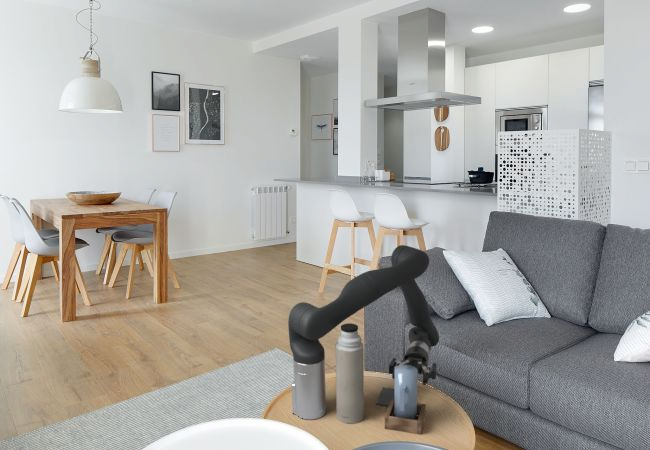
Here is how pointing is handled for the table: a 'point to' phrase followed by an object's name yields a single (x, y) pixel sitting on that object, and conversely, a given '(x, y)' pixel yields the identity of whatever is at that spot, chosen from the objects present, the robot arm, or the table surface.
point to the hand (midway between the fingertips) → (409, 379)
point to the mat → (385, 396)
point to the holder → (405, 420)
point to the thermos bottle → (349, 375)
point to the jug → (405, 392)
